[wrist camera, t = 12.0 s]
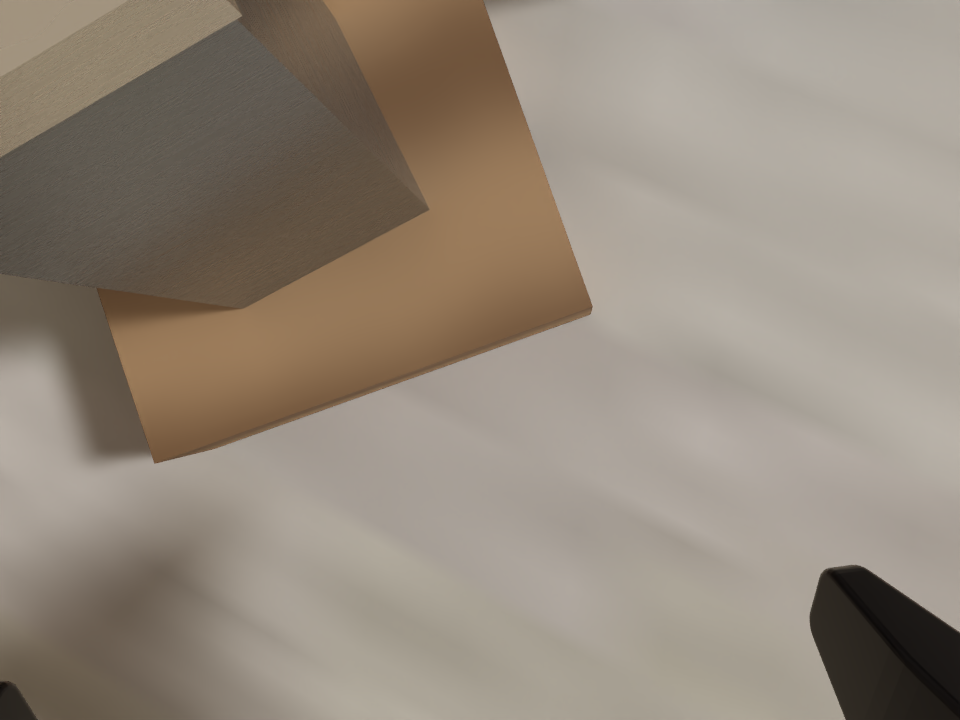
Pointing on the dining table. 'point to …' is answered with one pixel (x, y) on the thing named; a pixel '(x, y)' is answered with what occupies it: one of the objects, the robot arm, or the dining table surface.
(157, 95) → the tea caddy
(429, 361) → the tan wooden flat block
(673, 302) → the dining table surface
